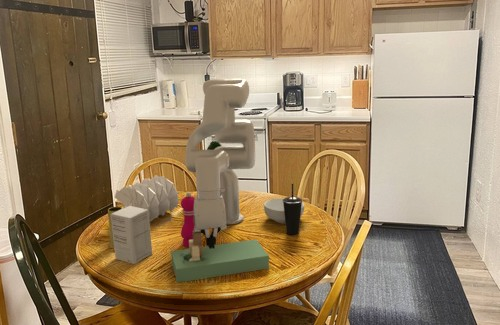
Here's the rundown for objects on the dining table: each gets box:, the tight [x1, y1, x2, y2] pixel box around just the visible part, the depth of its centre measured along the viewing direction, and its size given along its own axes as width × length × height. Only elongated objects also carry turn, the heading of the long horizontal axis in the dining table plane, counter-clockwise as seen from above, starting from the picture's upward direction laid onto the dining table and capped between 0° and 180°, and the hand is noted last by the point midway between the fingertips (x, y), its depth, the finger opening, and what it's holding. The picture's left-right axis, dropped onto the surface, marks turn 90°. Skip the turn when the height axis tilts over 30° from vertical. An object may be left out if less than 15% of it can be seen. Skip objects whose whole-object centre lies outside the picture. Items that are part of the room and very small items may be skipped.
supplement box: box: [111, 206, 153, 265], centre depth 162 cm, size 10×9×17 cm
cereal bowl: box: [263, 197, 305, 224], centre depth 195 cm, size 17×17×7 cm
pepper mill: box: [180, 192, 195, 248], centre depth 171 cm, size 7×7×20 cm
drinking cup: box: [283, 183, 304, 237], centre depth 179 cm, size 8×8×20 cm
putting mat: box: [170, 239, 270, 284], centre depth 155 cm, size 14×30×4 cm, turn 106°
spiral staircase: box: [114, 174, 180, 223], centre depth 199 cm, size 18×18×25 cm
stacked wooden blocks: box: [188, 231, 203, 261], centre depth 152 cm, size 8×3×8 cm, turn 16°
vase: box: [107, 206, 123, 249], centre depth 173 cm, size 6×6×14 cm
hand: (211, 247), depth 153 cm, fingers closed
